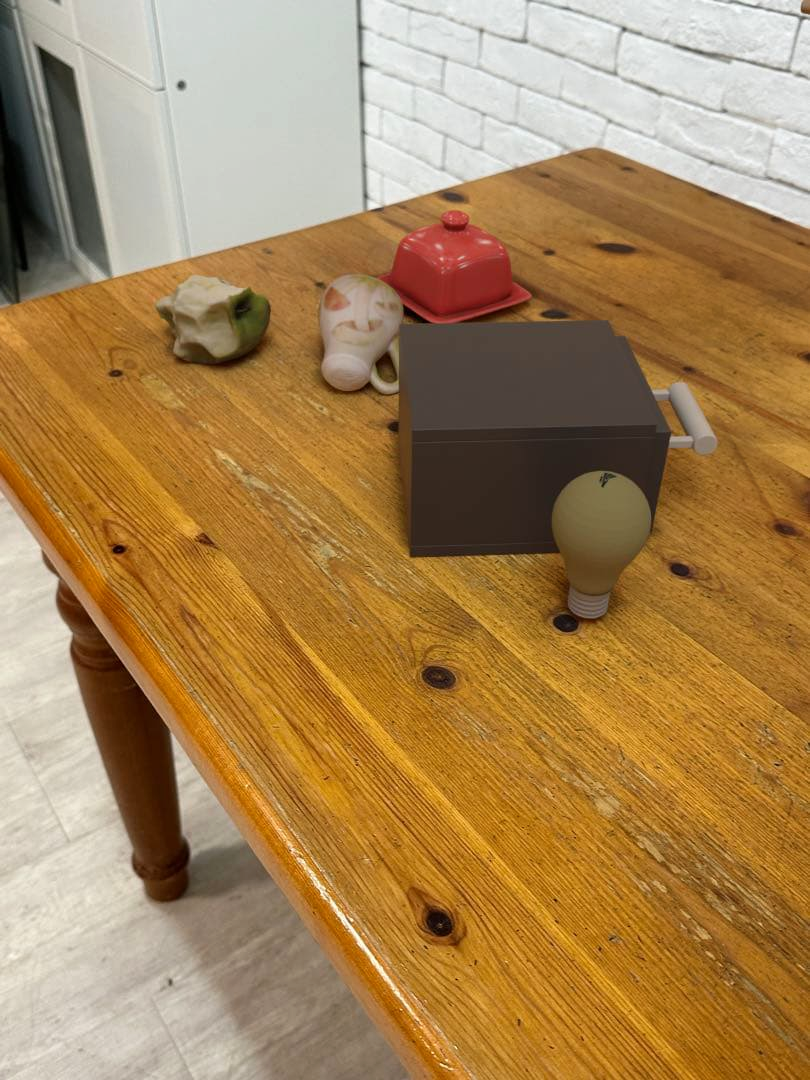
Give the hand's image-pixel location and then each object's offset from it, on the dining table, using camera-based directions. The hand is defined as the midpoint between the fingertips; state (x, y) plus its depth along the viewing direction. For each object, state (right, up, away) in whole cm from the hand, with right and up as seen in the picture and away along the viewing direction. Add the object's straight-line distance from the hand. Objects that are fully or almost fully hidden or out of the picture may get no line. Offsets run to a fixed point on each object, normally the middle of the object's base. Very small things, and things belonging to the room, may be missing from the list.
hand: (749, 1), depth 66 cm
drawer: (-11, -30, +7) cm, 32 cm away
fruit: (-38, -18, +24) cm, 48 cm away
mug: (-26, -20, +22) cm, 39 cm away
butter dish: (-17, -12, +32) cm, 38 cm away
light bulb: (-11, -39, -2) cm, 40 cm away
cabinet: (-14, -31, +8) cm, 35 cm away
